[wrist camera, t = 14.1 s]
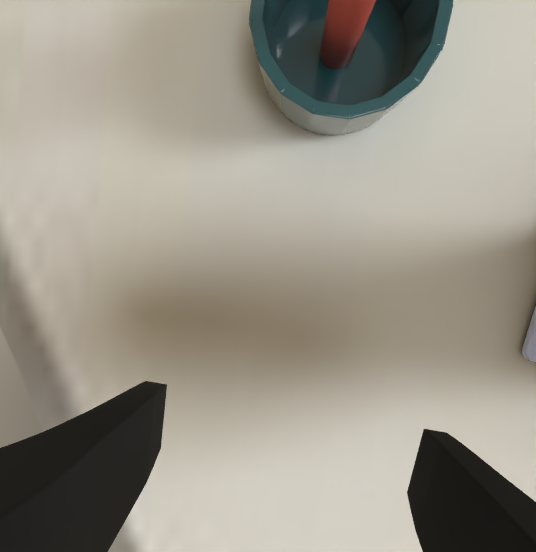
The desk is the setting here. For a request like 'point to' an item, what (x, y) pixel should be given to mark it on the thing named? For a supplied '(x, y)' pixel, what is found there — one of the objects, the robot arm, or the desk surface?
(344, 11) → the red cylinder rod
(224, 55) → the desk surface
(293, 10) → the cup
